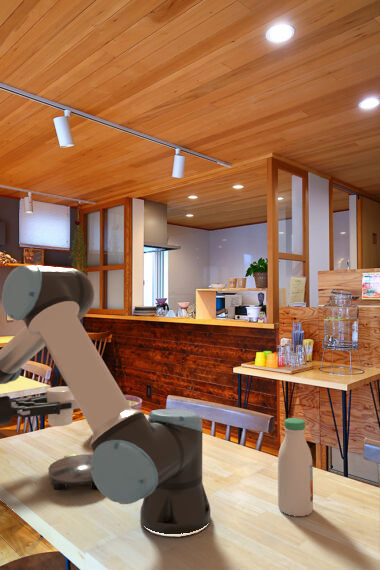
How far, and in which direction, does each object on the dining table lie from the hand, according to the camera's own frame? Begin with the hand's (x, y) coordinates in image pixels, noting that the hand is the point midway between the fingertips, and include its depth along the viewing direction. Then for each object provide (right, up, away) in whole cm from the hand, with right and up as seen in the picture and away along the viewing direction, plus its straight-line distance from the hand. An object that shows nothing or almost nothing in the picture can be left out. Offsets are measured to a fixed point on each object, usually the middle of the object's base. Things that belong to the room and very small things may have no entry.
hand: (76, 400), depth 131 cm
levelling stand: (+6, -17, -18) cm, 25 cm away
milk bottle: (+58, -16, -32) cm, 68 cm away
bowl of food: (+7, -18, +22) cm, 29 cm away
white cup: (-4, -6, -3) cm, 8 cm away
